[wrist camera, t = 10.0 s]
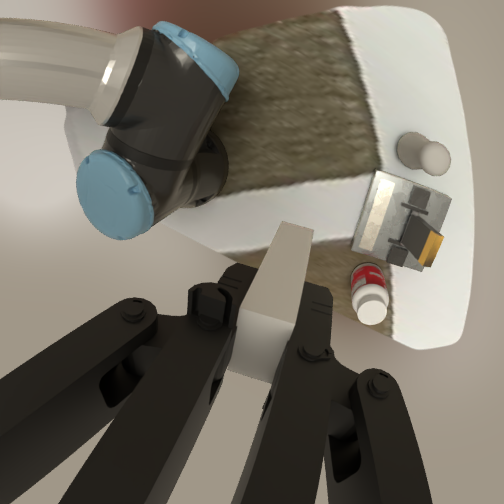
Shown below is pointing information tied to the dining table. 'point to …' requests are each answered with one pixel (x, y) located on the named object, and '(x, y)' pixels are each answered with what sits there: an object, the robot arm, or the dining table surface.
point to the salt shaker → (423, 154)
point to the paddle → (421, 239)
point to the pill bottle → (369, 293)
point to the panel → (395, 217)
